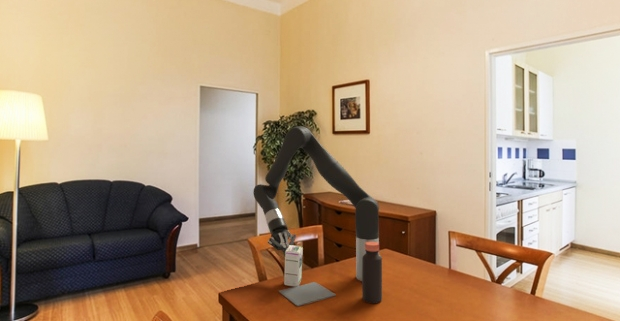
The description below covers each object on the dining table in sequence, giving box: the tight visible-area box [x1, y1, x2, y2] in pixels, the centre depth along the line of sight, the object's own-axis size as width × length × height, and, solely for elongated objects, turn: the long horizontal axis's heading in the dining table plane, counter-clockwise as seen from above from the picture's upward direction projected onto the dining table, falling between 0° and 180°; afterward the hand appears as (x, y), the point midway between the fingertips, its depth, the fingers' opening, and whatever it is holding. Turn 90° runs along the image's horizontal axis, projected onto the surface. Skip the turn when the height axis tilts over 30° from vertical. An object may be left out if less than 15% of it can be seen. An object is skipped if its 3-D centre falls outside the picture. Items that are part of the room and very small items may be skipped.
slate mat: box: [278, 281, 336, 307], centre depth 124 cm, size 16×14×1 cm
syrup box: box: [283, 244, 304, 287], centre depth 132 cm, size 6×6×14 cm
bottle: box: [361, 242, 383, 304], centre depth 118 cm, size 7×7×20 cm
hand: (289, 257), depth 135 cm, fingers closed
